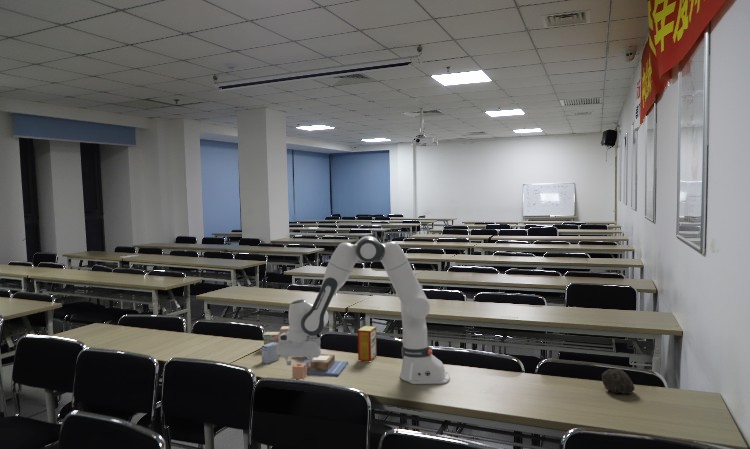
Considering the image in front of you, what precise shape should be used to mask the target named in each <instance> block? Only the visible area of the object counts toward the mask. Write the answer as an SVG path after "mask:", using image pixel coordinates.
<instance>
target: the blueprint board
mask: <svg viewBox="0 0 750 449" xmlns="http://www.w3.org/2000/svg"><path fill="white" fill-rule="evenodd" d="M335 359H336V355H335V354H323V353H321V354H320V356H319V357H317V358H316V357H313V359H312V361H311V366H310V367H307V375H312V376H313V375H314V376H316V375H317V376H331V377H334V376H335V377H339V376H340V375H341V373H342V372H343V371H344V369H346V367H347V366H348V365H349V361H345V360H344V361H343V360H342V361H341V360H335ZM309 360H310V359H304V361H302V363H305V364H306V363H307V362H309ZM346 365H347V366H346Z"/></svg>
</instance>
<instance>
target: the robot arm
mask: <svg viewBox="0 0 750 449" xmlns="http://www.w3.org/2000/svg"><path fill="white" fill-rule="evenodd" d="M358 261H363V262H365V263H373V262H381V264H382V266H383V268H384V270H385V272H386V275H387V276H388V278H389V281H390V283H391V285H392V287H393V289H394V291H395V293H396V295H397V297H398V299H399V300H400V312H401V313H400V314H401V325H402V326H401V327H402V346H401V357H402V360H401V361H402V363H401V369H400V373H399V378H400V379H401V380H403V381H405V382H407V383H409V384H411V385H424V384H425V385H429V384H430V385H431V384H432V385H435V384H437V385H438V384H440V385H441V384H442V385H443V384H444V385H445V384H447V383H448V382H449V381H450V376H451V375H450V373H449V372H448V371H446V370H445V366H444V363H443V362H442V361H441V360H440V359H438V357H436V356H435V355H433V349H432V346H429V345H428V327H427V320H426V317H428V315H429V313H430V311H431V310H430V309H431V306H430V302H429V300H428V297H427V295H426V293H425V292H424V290H423V287H422V285H421V284H420V282H419V280H418V279H417V277H416V275H415V272H414V271H413V269H412V266H411V264H410V262H409V260H408V258H407V256H406V254H405V253H404V250H403V249H402V247H401V246H400V245H399V244H398V242H396V241H387V242H385V243H381V242H380V241H379V240H378V238H377V237H376V236H374V235H370V234H366V235H363V236H362V237H360V238H359V239H358V240H356V241H354V242H353V243H350V242H341V243H340V244H338V245H337V247H336V249H334V251H333V253H332V255H331V257H330V259H329V261H328V263H327V266H326V269H325V272H324V276H323V279H322V283H321V286H320V289H319V292H318V294H317V296H316V297H315V300H314V302H313V304H312V303H311V302H309V301H308V300H306V299H297V300H294V301H292V302H291V303H290V304H289V308H288V324H289V325H288V326H289V331H287V332H284V333H282V334H280V335H279V336H278V339H279V341H278V343H277V350H276V352H277V354H278V355H279V356H280V357H281V356H283V358H284V360H285V362H286V366H291V365H292V360H290V359H289V357H297V356H298V357H300V358H302V357H304V358H307V357H309V359H308V360H309V362H307V363H306V364H307V365H306V366H307V367H310V366H311V361H312V359H313V357H316V358H317V357H319V356H320V354H322V353H321V352H322V350H321V339H320V337H318V335H319V334H321V333H322V331H323V329H324V328H325V326H326V325H327V324H328V322H329V320H330V313H329V312H328V308H329V306H330V304H331V302H332V300H333V298H334V297H335V294H337V292H338V291H339V290H340V289H341V288H342V287H343V286H344V285H345V283H346V282H347V281H348V279H349V277H350V276H351V274H352V272H353V269H354V266H355V265H356V263H357V262H358ZM298 357H297V358H298Z"/></svg>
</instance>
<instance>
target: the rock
mask: <svg viewBox="0 0 750 449" xmlns="http://www.w3.org/2000/svg"><path fill="white" fill-rule="evenodd" d="M601 380H602V381H601V382H602V384H603V385H604V388H605V390H607V391H610V392H612V393H614V394H618V393H620V394H622V395H623V394H624V395H627V394H631V393H633V392H634V391H635V385H634V382H633V381H632V379H631V378H630V376H629V375H628V374H627V373H626V372H625V371H624V370H623V369H621V368H618V369H612V368H609V369H607V370H605V371H604V372H603V373H602V374H601Z"/></svg>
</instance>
